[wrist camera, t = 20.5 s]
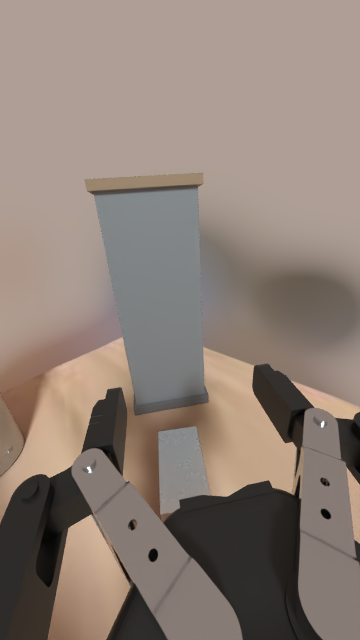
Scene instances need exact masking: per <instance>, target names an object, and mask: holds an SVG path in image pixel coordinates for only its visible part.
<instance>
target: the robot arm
mask: <svg viewBox="0 0 360 640" xmlns="http://www.w3.org/2000/svg"><path fill="white" fill-rule="evenodd" d="M252 386H253V391H254V394H255V396H256V398H257V399H258V401H259V402H260V404H261V406H262V407H263V409H264V410H265V412H266V414H267V415H268V417H269V418H270V420H271V422H272V423H273V425H274V426H275V428H276V430H277V431H278V433H279V434H280V436H281V438H282V439H283V441H284V442H285V443H289V442H293V443H294V444H295V446H296V447H297V449H296V457H295V469H294V480H293V488H292V494H290V493H288V492H286V491H283V490H280V489H275V488H272V486H271V484H270V481H264V482H259V483H255V484H250V485H247V486H245V487H243V488H242V489H240V490H238V491H237V492H235V493H233V494H231V495H230V496H227V497H221V496H209V495H199V496H194V497H190V498H185V499H180V500H179V502H180V508H179V509H177V510H175V511H174V512H173V513H171V514H170V515H169V516H168V517H167V518H166V519H165V520H164V522H162V521H161V520H160V519H159V517H158V516H157V515H156V514H155V512H154V511H153V510H152V509H151V507H150V506H149V505H148V503H147V502H146V501H145V500H144V498H143V497H142V496H141V495H140V493H139V492H138V491H137V489H136V488H135V487H134V486H133V485H132V483H130V482H129V481H128V482H126V481H125V480H124V478H123V477H122V476H123V463H124V450H125V437H126V425H127V408H126V404H125V400H124V395H123V391H122V388H121V387H119V388H113V389H108V390H107V394H106V398H105V399H104V400H99V401H98V402H97V403H96V405H95V406H94V407H93V410H92V414H91V418H90V422H89V425H88V429H87V433H86V437H85V441H84V445H83V449H82V452H81V454H80V455H79V456H78V457H77V458H76V460H75V461H74V463H73V465H72V466H71V467H70V468H68V469H67V470H65V471H63V472H61V473H59V474H57V475H55V476H53V477H51V478H48V477H47V476H46V475H43V474H39V475H35V476H32V477H30V478H28V479H27V480H25V481H24V482H23V483H22V484H21V485H20V486H19V487H18V488H17V489H16V490H15V492H14V493H13V495H12V497H11V499H10V502H9V504H8V507H7V509H6V512H5V514H4V516H3V519H2V521H1V524H0V640H47V638H48V632H49V627H50V622H51V616H52V611H53V606H54V601H55V595H56V590H57V585H58V580H59V574H60V569H61V564H62V559H63V553H64V548H65V543H66V537H67V532H68V528H69V527H70V526H72V525H74V524H75V523H77V522H79V521H81V520H82V519H84V518H86V517H87V516H89V515H91V516H92V517H93V519H94V521H95V523H96V525H97V526H98V528H99V530H100V532H101V534H102V535H103V537H104V539H105V541H106V542H107V544H108V546H109V548H110V550H111V552H112V554H113V556H114V558H115V559H116V561H117V563H118V565H119V567H120V569H121V571H122V572H123V574H124V576H125V578H126V580H127V581H128V583H129V585H130V587H131V588H130V590H129V592H128V594H127V597H126V599H125V601H124V603H123V605H122V607H121V609H120V612H119V614H118V616H117V618H116V620H115V622H114V624H113V627H112V629H111V631H110V633H109V635H108V637H107V639H106V640H360V544H359V543H358V542H357V541H355V540H354V534H353V525H352V515H351V506H350V497H349V487H348V478H347V469H346V467H347V468H348V469H349V471H350V472H351V473H352V475H353V476H354V477H355V479H356V480H357V481H358V483H359V484H360V412H359V413H357V414H355V416H354V419H353V420H350V419H340V418H334V417H333V416H332V415H331V414H330V413H328V412H327V411H325V410H322V409H318V408H314V407H313V405H312V404H311V403H310V402H309V401H308V400H307V399H306V398H305V397H304V395H303V394H302V393H301V392H300V391H299V390H298V389H297V388H296V386H295V385H294V384H293V383H292V382H291V381H290V380H289V379H288V377H287V376H286V375H284V374H282V373H281V372H279V371H274V370H273V369H272V368H271V367H270V365H268V364H262V365H256V366H254V373H253V384H252ZM23 445H24V438H23V435H22V433H21V431H20V429H19V427H18V425H17V423H16V421H15V420H14V418H13V416H12V414H11V412H10V410H9V408H8V406H7V404H6V402H5V401H4V399H3V397H2V395H1V393H0V476H1V475H2V474H3V473H4V472H5V471H6V470H7V469H8V468H9V467H10V466H11V465H12V464H13V463H14V461H15V460H16V459H17V458H18V456H19V454H20V452H21V451H22V448H23Z"/></svg>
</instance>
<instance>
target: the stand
mask: <svg viewBox="0 0 360 640" xmlns="http://www.w3.org/2000/svg"><path fill="white" fill-rule="evenodd" d="M85 183H86V188H87V191H88V192H90V193H92V194H94V197H95V202H96V207H97V212H98V217H99V222H100V226H101V232H102V237H103V241H104V246H105V251H106V256H107V261H108V266H109V271H110V276H111V281H112V286H113V291H114V296H115V300H116V305H117V310H118V315H119V320H120V325H121V329H122V335H123V340H124V345H125V349H126V354H127V359H128V364H129V369H130V374H131V379H132V384H133V389H134V412H135V415H139V414H145V413H151V412H156V411H162V410H167V409H173V408H179V407H184V406H190V405H196V404H201V403H207V402H209V400H208V393H207V390H206V388H205V385H204V361H203V331H202V304H201V303H202V301H201V271H200V243H199V215H198V214H199V213H198V212H199V211H198V186H200V185H202V184H203V173H190V174H173V175H156V176H138V177H120V178H102V179H85Z"/></svg>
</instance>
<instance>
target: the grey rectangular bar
mask: <svg viewBox="0 0 360 640" xmlns="http://www.w3.org/2000/svg"><path fill="white" fill-rule="evenodd" d="M158 447H159V489H160V516H161V521H162V522H164V520H165V519H166V518H167V517H168V516H169V515H170V514H171V513H173V512H174V511H175V510H177V509H179V508H180V502H179V500H180V499H185V498H190V497H194V496H199V495H209V496H211V495H210V491H209V486H208V481H207V476H206V471H205V467H204V462H203V457H202V452H201V447H200V443H199V438H198V433H197V428H196V426H193V427H187V428H180V429H173V430H166V431H159V432H158Z"/></svg>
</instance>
